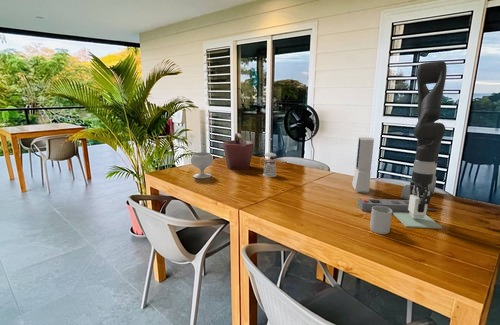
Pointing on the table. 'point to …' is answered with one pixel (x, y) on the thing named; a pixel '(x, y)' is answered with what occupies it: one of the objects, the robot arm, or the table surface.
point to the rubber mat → (416, 221)
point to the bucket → (238, 153)
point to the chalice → (201, 163)
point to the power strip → (385, 204)
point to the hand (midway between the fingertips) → (417, 209)
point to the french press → (267, 170)
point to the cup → (380, 219)
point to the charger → (416, 207)
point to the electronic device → (363, 165)
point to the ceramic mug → (406, 192)
